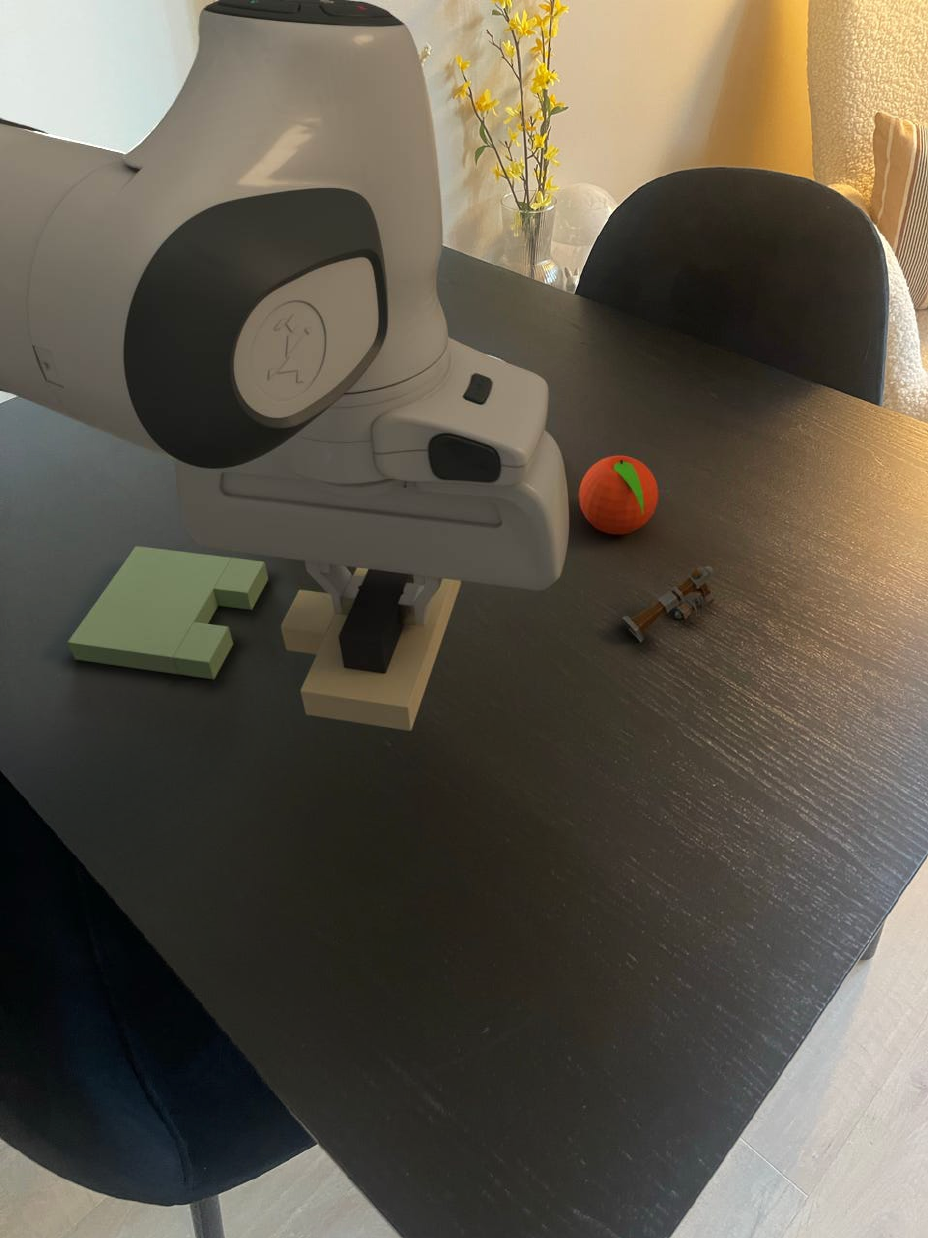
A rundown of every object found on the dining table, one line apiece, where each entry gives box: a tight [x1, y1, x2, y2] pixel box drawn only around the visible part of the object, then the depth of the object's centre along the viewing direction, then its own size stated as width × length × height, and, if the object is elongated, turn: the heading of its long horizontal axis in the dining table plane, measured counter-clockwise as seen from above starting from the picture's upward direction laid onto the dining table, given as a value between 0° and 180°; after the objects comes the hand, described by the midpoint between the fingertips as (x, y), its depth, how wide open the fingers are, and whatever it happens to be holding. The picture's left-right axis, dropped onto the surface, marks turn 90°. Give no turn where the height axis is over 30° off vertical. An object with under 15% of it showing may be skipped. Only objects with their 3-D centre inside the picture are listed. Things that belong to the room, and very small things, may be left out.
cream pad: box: [280, 567, 462, 732], centre depth 54 cm, size 12×9×4 cm
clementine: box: [578, 455, 659, 535], centre depth 84 cm, size 8×7×7 cm
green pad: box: [67, 545, 269, 680], centre depth 79 cm, size 12×12×2 cm
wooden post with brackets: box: [622, 565, 715, 643], centre depth 76 cm, size 2×8×4 cm, turn 117°
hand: (384, 613), depth 54 cm, fingers closed on cream pad, 2 cm apart
